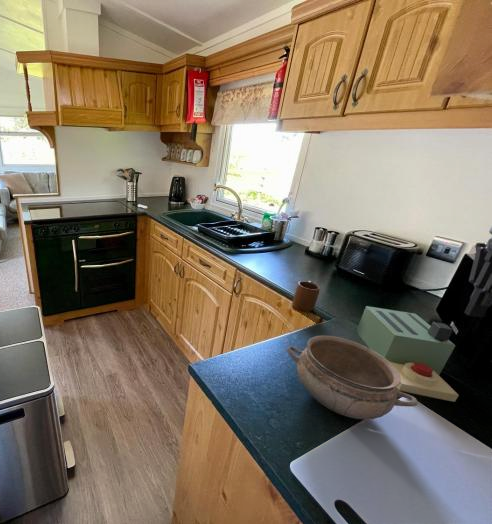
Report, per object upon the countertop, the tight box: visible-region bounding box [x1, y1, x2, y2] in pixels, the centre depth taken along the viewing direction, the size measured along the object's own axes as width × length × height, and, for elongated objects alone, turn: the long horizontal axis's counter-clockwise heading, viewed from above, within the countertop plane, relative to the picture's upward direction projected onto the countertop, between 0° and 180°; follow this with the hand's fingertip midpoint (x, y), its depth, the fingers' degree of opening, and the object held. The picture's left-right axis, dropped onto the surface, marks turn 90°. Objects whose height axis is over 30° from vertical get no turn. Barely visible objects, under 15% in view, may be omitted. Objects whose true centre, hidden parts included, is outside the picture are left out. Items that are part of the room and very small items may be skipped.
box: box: [390, 362, 460, 403], centre depth 75 cm, size 12×9×4 cm
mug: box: [291, 280, 321, 312], centre depth 112 cm, size 12×8×9 cm, turn 145°
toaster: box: [355, 305, 456, 376], centre depth 87 cm, size 14×17×10 cm
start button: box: [412, 362, 433, 377], centre depth 74 cm, size 4×4×2 cm
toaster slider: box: [428, 321, 454, 341], centre depth 79 cm, size 3×3×4 cm
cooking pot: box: [286, 335, 419, 420], centre depth 66 cm, size 25×19×12 cm
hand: (473, 314), depth 70 cm, fingers closed
